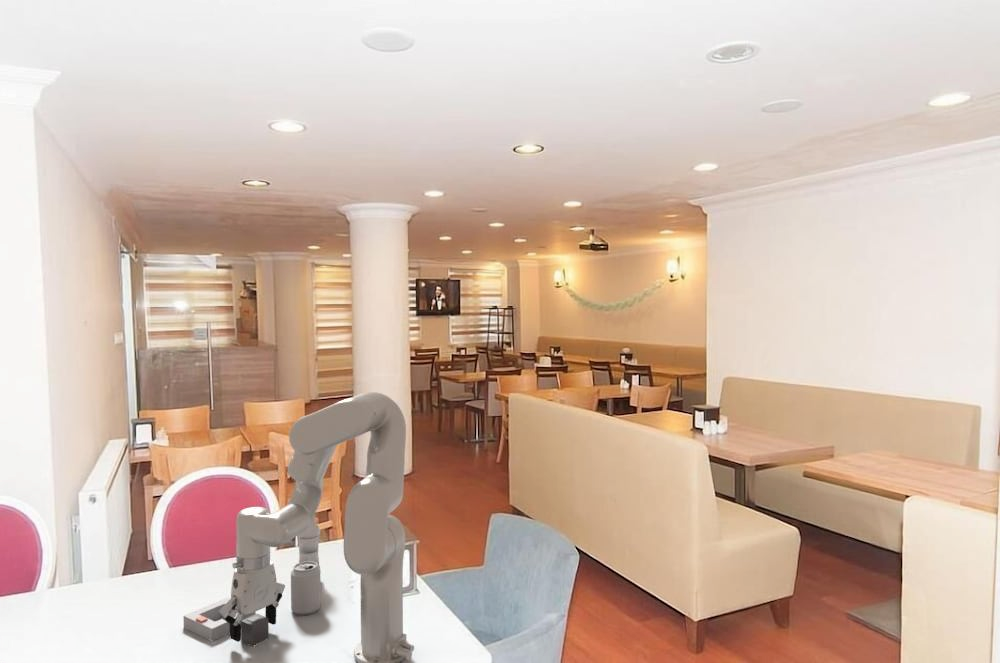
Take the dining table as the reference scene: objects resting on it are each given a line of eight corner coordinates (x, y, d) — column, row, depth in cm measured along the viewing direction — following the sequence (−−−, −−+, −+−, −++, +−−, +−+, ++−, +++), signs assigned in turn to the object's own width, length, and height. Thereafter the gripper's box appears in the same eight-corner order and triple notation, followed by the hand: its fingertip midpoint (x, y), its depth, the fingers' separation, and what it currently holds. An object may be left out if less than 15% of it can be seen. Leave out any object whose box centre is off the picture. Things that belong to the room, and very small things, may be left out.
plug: (268, 638, 154) (268, 617, 153) (252, 646, 150) (252, 625, 150) (257, 633, 156) (256, 612, 156) (241, 641, 152) (240, 620, 152)
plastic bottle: (292, 585, 183) (291, 516, 183) (306, 576, 190) (305, 509, 189) (312, 588, 181) (311, 518, 181) (325, 578, 188) (324, 511, 187)
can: (312, 617, 164) (311, 571, 163) (285, 615, 165) (285, 569, 165) (325, 604, 171) (325, 560, 171) (300, 602, 173) (299, 558, 172)
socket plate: (255, 620, 162) (255, 607, 162) (212, 641, 152) (211, 626, 152) (227, 608, 169) (227, 595, 169) (183, 627, 159) (183, 613, 159)
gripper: (230, 576, 143) (230, 651, 144) (293, 552, 158) (293, 620, 158) (210, 569, 147) (211, 642, 148) (273, 546, 162) (273, 612, 162)
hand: (253, 631), depth 153 cm, fingers open, 9 cm apart
